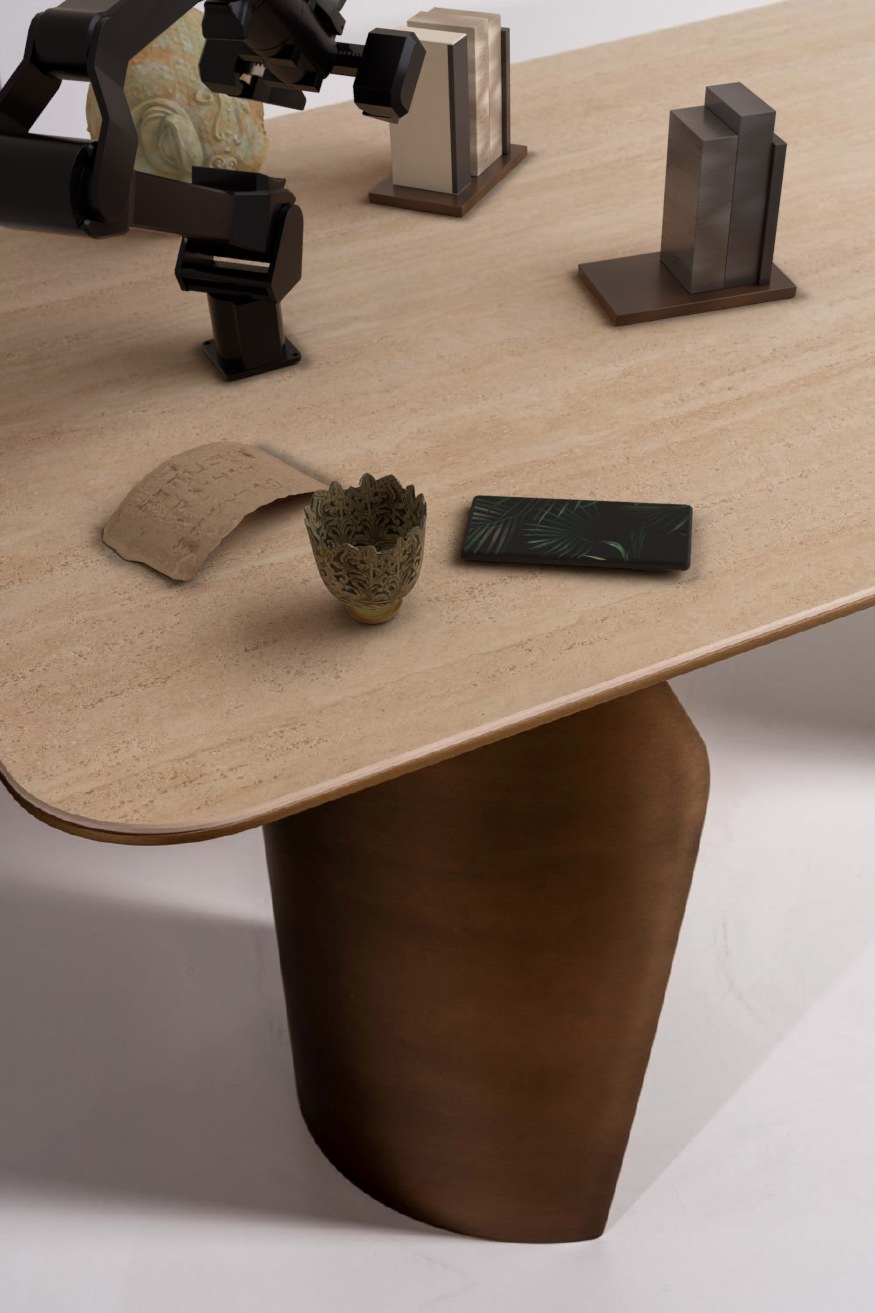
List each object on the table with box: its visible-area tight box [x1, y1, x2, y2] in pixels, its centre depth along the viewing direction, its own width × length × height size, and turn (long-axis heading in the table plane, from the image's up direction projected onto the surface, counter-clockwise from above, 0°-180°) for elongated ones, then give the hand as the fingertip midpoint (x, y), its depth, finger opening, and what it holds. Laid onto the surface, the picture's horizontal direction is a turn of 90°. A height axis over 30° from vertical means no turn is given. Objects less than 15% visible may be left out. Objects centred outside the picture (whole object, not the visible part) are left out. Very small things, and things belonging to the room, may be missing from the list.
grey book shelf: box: [577, 81, 798, 327], centre depth 117 cm, size 16×10×16 cm, turn 105°
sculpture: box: [85, 6, 270, 183], centre depth 136 cm, size 18×20×20 cm
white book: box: [388, 25, 471, 195], centre depth 133 cm, size 3×7×14 cm, turn 64°
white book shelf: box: [368, 6, 528, 218], centre depth 137 cm, size 16×10×15 cm, turn 154°
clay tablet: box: [102, 440, 330, 581], centre depth 98 cm, size 14×10×3 cm
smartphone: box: [459, 494, 694, 573], centre depth 95 cm, size 7×1×15 cm
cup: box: [303, 472, 428, 625], centre depth 88 cm, size 8×7×8 cm
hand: (350, 111), depth 121 cm, fingers open, 9 cm apart
